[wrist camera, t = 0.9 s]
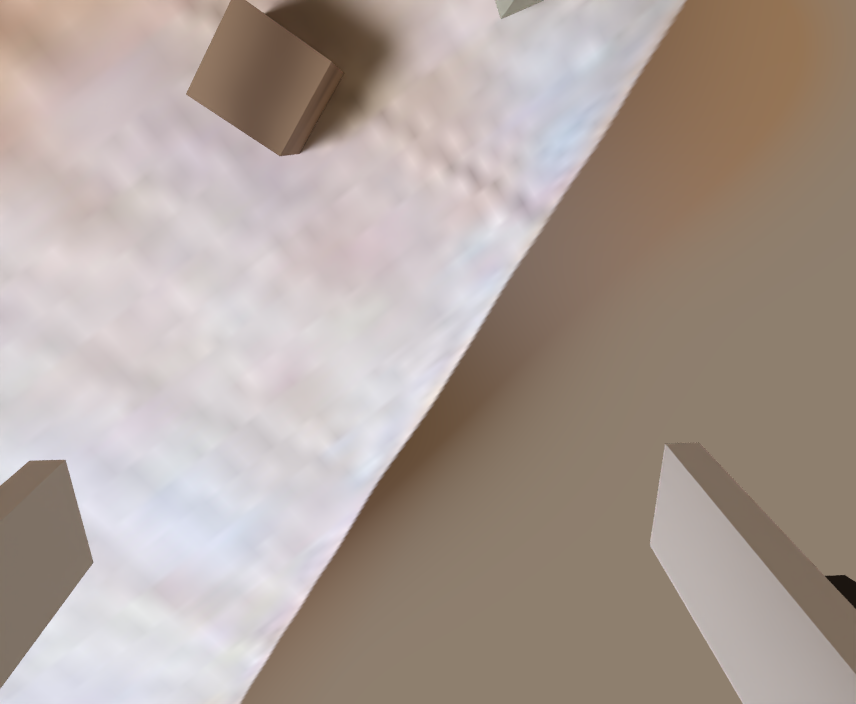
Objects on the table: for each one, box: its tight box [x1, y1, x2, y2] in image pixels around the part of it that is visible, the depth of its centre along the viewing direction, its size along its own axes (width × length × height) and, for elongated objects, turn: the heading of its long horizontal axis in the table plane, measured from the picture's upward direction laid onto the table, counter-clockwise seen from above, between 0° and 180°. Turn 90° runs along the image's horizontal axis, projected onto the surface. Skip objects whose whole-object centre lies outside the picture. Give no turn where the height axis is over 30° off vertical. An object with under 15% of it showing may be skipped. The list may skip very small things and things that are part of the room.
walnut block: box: [186, 0, 344, 156], centre depth 29 cm, size 5×5×5 cm
